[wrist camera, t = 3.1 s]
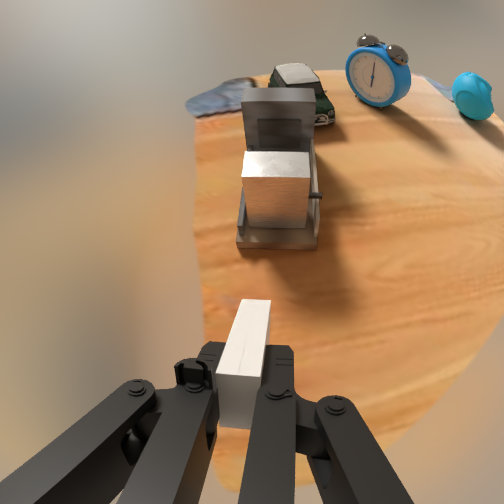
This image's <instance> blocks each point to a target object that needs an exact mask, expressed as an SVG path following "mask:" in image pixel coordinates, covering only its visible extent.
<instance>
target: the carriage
mask: <svg viewBox="0 0 504 504" xmlns="http://www.w3.org/2000/svg"><path fill="white" fill-rule="evenodd" d="M242 183H243V189H244V196H245V203H246V209H247V216H248V223H249V227H264V228H301V229H305V225H306V216H307V207H308V199H322V193H318V192H309V186H310V166H309V152H245V157H244V164H243V171H242Z"/></svg>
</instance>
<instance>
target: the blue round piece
mask: <svg viewBox="0 0 504 504" xmlns="http://www.w3.org/2000/svg"><path fill="white" fill-rule="evenodd" d="M491 90H492V87H491V86H490V85H489V83H488V82H487V81H485V80H484V79H483V78H482V77H480V76H479V75H477V74H475V73H471V72H465V73H463V74H461V75H459V76H458V77H457V78H456V80H455V81H454V83H453V87H452V96H453V100H454V103H455V105H456V106H457V108H458V109H459V110H460V111H461V112H462V113H463V114H464V115H465V116H467V117H469V118H471V119H474V120H484V119H487V118H489V117H490V116H491V114H492V113H493V112H494V108H493V104H492V101H491Z"/></svg>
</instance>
